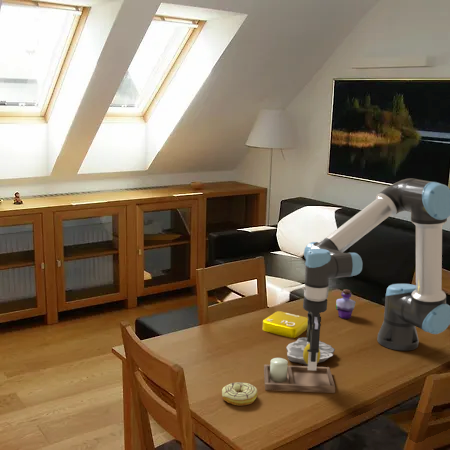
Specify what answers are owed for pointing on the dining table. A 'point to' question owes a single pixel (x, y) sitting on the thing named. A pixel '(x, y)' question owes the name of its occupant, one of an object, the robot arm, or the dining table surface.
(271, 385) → the organizer
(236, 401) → the decorated donut
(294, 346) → the brain slice
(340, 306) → the potion bottle
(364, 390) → the dining table surface
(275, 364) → the white capsule pill
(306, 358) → the lemon
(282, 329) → the element tile
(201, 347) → the dining table surface
